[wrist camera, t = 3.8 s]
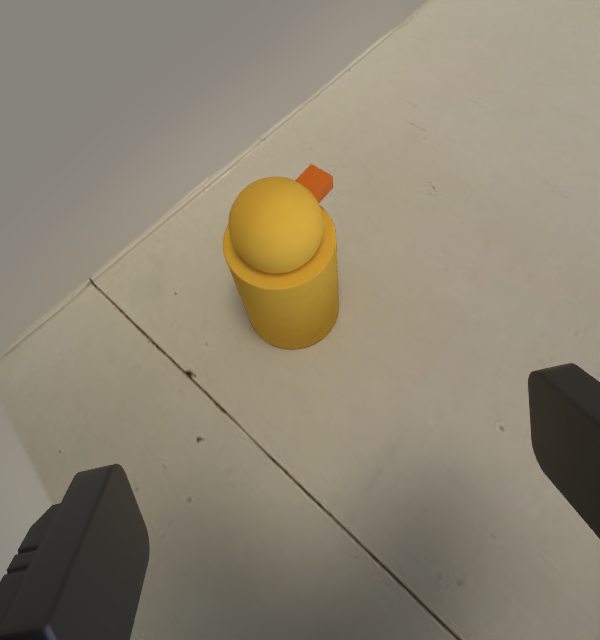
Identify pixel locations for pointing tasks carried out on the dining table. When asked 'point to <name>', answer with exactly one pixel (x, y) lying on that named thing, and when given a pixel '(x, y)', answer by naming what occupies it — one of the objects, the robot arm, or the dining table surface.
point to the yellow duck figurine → (285, 258)
